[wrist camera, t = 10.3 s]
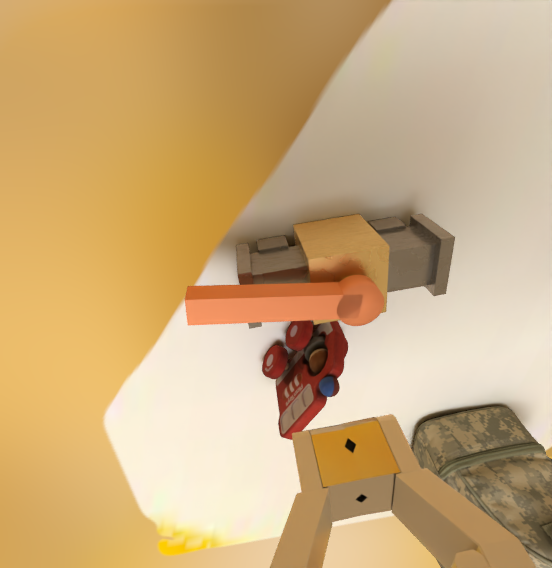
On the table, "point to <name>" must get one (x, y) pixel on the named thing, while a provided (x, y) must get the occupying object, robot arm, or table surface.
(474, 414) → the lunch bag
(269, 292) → the lever
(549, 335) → the table surface
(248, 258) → the pipe valve
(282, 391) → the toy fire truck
